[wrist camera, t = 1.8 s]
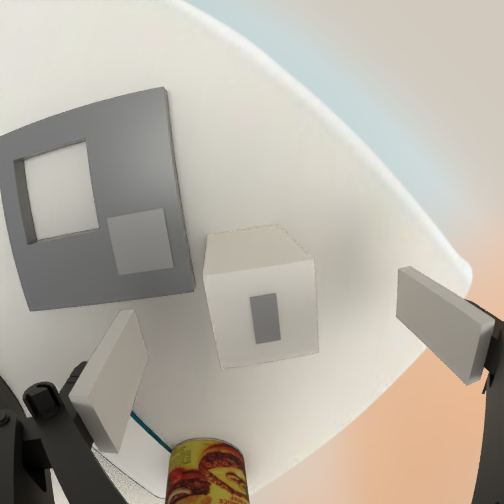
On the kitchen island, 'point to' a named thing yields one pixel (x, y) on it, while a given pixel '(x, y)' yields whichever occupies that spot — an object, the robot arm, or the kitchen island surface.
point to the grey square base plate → (103, 207)
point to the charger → (260, 296)
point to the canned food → (206, 473)
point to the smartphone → (142, 457)
